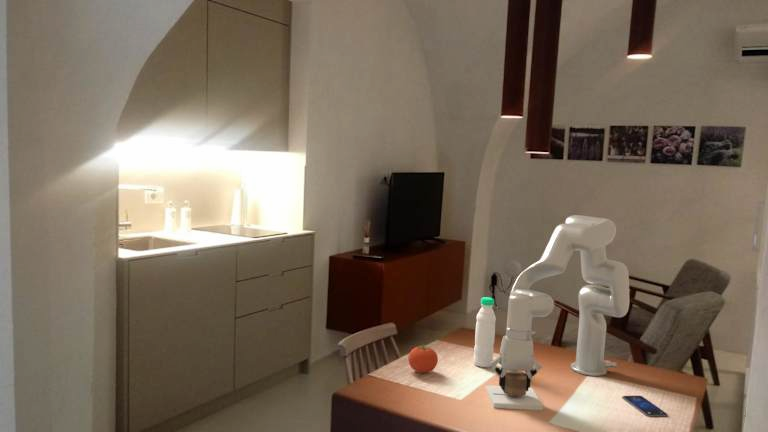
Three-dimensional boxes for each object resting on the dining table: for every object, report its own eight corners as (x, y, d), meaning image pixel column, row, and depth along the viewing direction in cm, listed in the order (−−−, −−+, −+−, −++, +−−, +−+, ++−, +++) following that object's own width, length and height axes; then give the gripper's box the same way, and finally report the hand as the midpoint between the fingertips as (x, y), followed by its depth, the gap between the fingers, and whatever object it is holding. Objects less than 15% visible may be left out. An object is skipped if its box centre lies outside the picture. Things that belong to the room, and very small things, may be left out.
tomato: (435, 368, 211) (437, 340, 210) (437, 378, 201) (439, 350, 200) (407, 366, 211) (408, 339, 210) (407, 376, 201) (409, 348, 200)
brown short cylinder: (522, 388, 190) (523, 370, 189) (527, 396, 183) (529, 378, 182) (500, 386, 190) (502, 368, 189) (505, 395, 183) (506, 376, 182)
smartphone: (647, 415, 179) (620, 395, 193) (647, 418, 179) (620, 398, 193) (670, 414, 180) (641, 395, 194) (669, 418, 180) (641, 397, 195)
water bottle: (469, 362, 219) (474, 296, 216) (485, 360, 222) (490, 295, 219) (480, 369, 213) (485, 300, 210) (496, 367, 216) (501, 299, 213)
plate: (531, 392, 193) (532, 375, 193) (542, 410, 179) (544, 392, 179) (485, 389, 193) (486, 373, 193) (493, 407, 179) (494, 390, 179)
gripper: (542, 331, 188) (538, 385, 190) (488, 328, 188) (484, 383, 190) (549, 338, 181) (544, 395, 182) (492, 335, 181) (488, 392, 182)
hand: (514, 388), depth 186 cm, fingers closed on brown short cylinder, 6 cm apart
